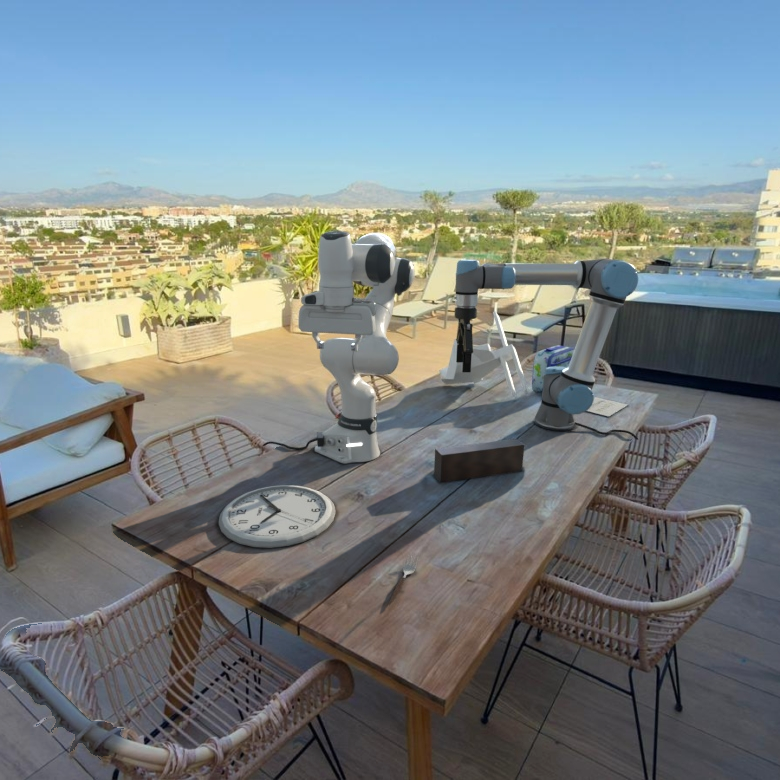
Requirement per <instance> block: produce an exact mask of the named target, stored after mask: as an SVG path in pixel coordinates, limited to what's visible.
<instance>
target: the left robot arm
mask: <svg viewBox="0 0 780 780" xmlns="http://www.w3.org/2000/svg"><path fill="white" fill-rule="evenodd" d="M318 242H319V243H318V253H317V254H318V256H317V265H318V266H317V269H318V272H319V281H318V290H314V291H312V292H310V293H309V292H308V293H307V294H304V295H303V296H301V297H300V303H301V304H302V305H301V306H300V308H299V310H298V322H297V323H298V329H299V330H300V331H301V332H303V333H311V337H312V338H313V340H314V341H315V343H316V349H317V350H319V361H320V363H321V365H322V366H323V367H324V368H325V369H326V370H327V371H329V373H330V374H331V375H332V377H333V378H334V379H335V381H336V384H337V385H338V388H339V392H340V398H341V399H340V400H341V412H339V413H337V414H336V415H335V418H334V419H335V420H337V419H338V420H337V422H336V423H334V424H333V425H331V426H330V427H328V428H327V429H326V430H325V431H324V432H322V431H318V432H316V438H313V439H311V440H308V441H307V442H306V445H304V446H302V447H297V446H290V445H287V444H286V443H282V442H277V441H267V442H265V443H263V444H262V447H265V446H267V445H276V446H280V447H281V446H282V447H284V448H287V449H289V450H296V451H297V450H298V451H300V450H306V449H307V448H308V447H309V445H310V444H312V443H314V442H316V445H315V446H314V452H315V453H318V454H320V455H322V456H324V457H326V458H329V459H332V460H334V461H335V462H338V463H339V464H343V465H345V464H352V463H365V462H370V461H373V460H376V459H377V458H379V456H380V455H381V450H380V447H379V443H378V436H377V429H378V414H377V411H376V409H377V406H376V405H377V394H376V391H375V389H374V387H372V385H370V384H369V383H368V382H366V381H365V380H363V378H362V376H361V375H368V376H386V375H392V374H393V373H394V372H395V371H396V369H397V367H398V365H399V362H400V355H399V352H398V349H397V347H396V346H395V345H394V344H393V343H392V342H391V341H389V339H388V337H387V332H388V329H389V325H390V322H391V319H392V316H393V314H394V313H393V312H394V307H395V296H396V295H397V296H398V297H400V296H402V294H403V293H404V292H406V291H408V290H409V289H410V288H411V287H412V285H413V282H414V280H415V277H416V270H415V266H414V263H413V261H411V260H410V259H407V258H405V257H401V258H400V257H398V256H397V249H396V246H395V245H394V242H393V240H392V239H391V238H390V237H389V236H387V235H386V234H384V233H381V232H370V233H367V234H364V235H363V236H361V237H359V239H357V241H356V242H355V243H352V238H351V234H350V233H349V232H347V231H345V230H344V231H343V230H332V231H326V232H324V233H322V234H321V235H320V236H319V241H318ZM354 284H355V285H358V286H361V287H364V286H366V287H369V288H372V289H370V291H369V292H368V293H367V295H366V296H365V298H359V297H355V296H354V295H355V294H354V293H355V292H354V289H355V288H354ZM321 334H335V335H336V334H337V335H354V338H351V337H350V338H349V337H335V338H328V339H326V340H325V341H323V340H321V338H320V337H319V336H320V335H321Z"/></svg>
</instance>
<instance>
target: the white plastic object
mask: <svg viewBox="0 0 780 780" xmlns="http://www.w3.org/2000/svg"><path fill="white" fill-rule="evenodd" d="M492 315H493V319H494V321H495V324H496V325H495V326H496V328H497V332H498V335H499V338H500V342H501V345H502V347H500V348H498V349H496V350H495V349H493V348H492V347H491V346H490V344H489V343H488V342H487V343H483V344H479V345H473V353H472V355H471V372H462V368H463V362H456V359H457V341H456V338H454V340H453V344H452V349H451V353H450V357H449V362H448V366H446V367H444V368H442V369H440V370H439V371H438V372H439V376H440V381H442V383H443V384H444V385H445V386H449V385H458V384H467V383H468V384H469V383H473V384H477V383H480V382H482V381H484V378H485V377H486V376H487V375H489V374H490V373H492V372H494V371H495V370H496V369H497V368H499V367H500V366H502V370H503V373H504V376H505V380H506V383H507V386H508V390H509V393H510V394H511V395H512V397H513V398H514V399H515V400H517V392H516V391H517V390H516V388H515V385H514V381H513V378H512V375H511V371H510V369H509V365H508V361H510V360H513V363H514V366H515V369H516V372H517V376H518V380H519V382H520V385H521V389H522V391H523V393H524V395H525V396H526V397H528V396H531V395H530V390H529V388H528V387H529V386H528V384H527V381H526V378H525V375H524V371H523V369H522V368H523V367H522V366H521V362H520V359H519V355H518V352H517V349H516V347H515V346H514V345H513V343H511V344H508V341H507V337H506V334H505V331H504V328H503V325H502V321H501V318H500V315H499V314H498V312H497V311H496V310H495V311H492ZM467 350H469V349H467Z"/></svg>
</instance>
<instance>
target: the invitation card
mask: <svg viewBox="0 0 780 780" xmlns="http://www.w3.org/2000/svg"><path fill="white" fill-rule="evenodd" d="M628 406H629V404H627V403H623V402H618V401H614V400H609V399H605V398H601V397H596V396H594V401H593V404H592V405H591V407H590V408H589V409H588V410H587V411H586V412H587V413H593V414H596V415H600V416H604V417H608V418H609V417H611V416H613V415H614V414H616V413H617V412H619V411H621V410H623V409H624V408H626V407H628Z"/></svg>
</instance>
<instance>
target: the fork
mask: <svg viewBox="0 0 780 780" xmlns="http://www.w3.org/2000/svg"><path fill="white" fill-rule="evenodd" d="M415 556H416V555H414V556H413V554H411V555H410V554H408V555H407V558H406V560H405V563H404V565H403V568H402V572H403V576H402V578H401V579H400V581H398V583H397V584H396V586H395V588H394V591H393V593H392V596H391V598H390V600H389V603H388V605H389V606H391V605H392V603H393V602H394V600H395V599H396V597H397V596H398V594H399V593H400V592H401V590H402V588H403V585H404V583H405V580H406V577H407V576H409V575H411V574H413V573H415V571H416V567H417V562H418V559H419V556H416V557H415ZM409 557H410V558H409ZM412 557H413V560H412ZM415 558H416V559H415ZM411 561H412V562H411ZM414 562H415V563H414Z"/></svg>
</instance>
